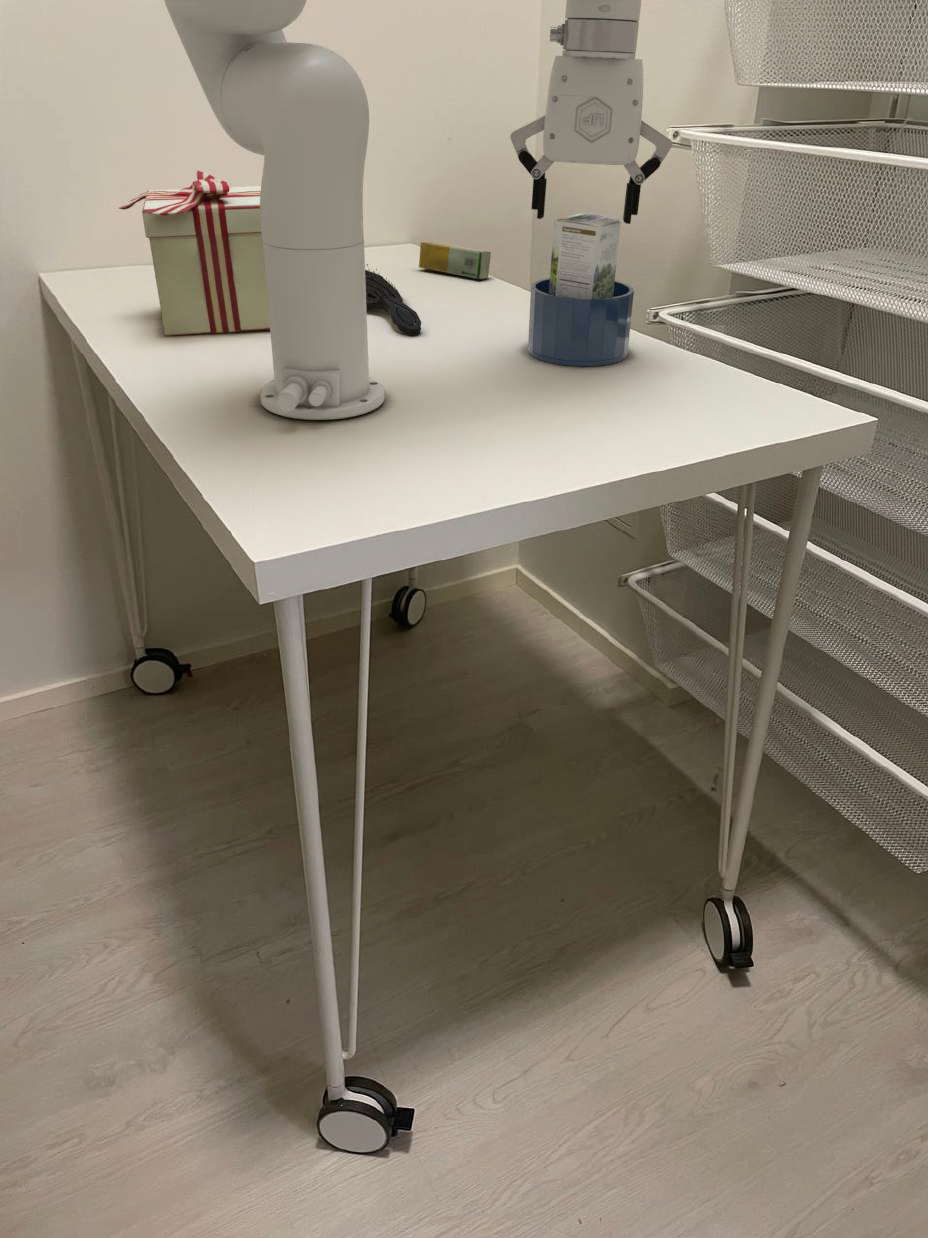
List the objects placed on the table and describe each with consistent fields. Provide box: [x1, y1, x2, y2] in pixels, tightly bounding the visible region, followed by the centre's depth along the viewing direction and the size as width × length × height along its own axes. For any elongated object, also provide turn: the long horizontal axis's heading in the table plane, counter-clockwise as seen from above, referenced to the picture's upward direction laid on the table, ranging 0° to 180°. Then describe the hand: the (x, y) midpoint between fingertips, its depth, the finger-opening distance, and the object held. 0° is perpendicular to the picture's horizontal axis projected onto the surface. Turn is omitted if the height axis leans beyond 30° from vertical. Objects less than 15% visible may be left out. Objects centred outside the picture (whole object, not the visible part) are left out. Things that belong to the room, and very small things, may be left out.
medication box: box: [418, 241, 492, 281], centre depth 152 cm, size 12×3×4 cm, turn 55°
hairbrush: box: [365, 263, 422, 337], centre depth 131 cm, size 8×4×25 cm
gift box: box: [118, 170, 270, 337], centre depth 122 cm, size 17×18×17 cm
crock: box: [527, 277, 635, 367], centre depth 115 cm, size 12×12×8 cm
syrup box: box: [549, 213, 622, 299], centre depth 113 cm, size 6×6×14 cm
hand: (583, 219), depth 109 cm, fingers open, 9 cm apart
